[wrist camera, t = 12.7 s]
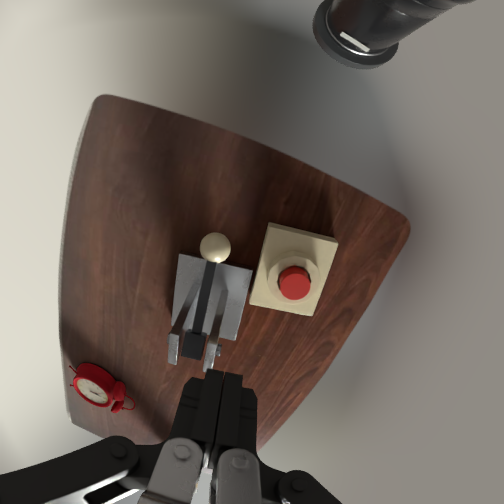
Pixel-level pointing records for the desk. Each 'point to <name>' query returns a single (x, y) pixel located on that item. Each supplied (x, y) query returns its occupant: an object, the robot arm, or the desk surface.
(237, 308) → the bracket
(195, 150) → the desk surface
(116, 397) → the alarm clock
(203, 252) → the lever
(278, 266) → the control block
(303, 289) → the button
